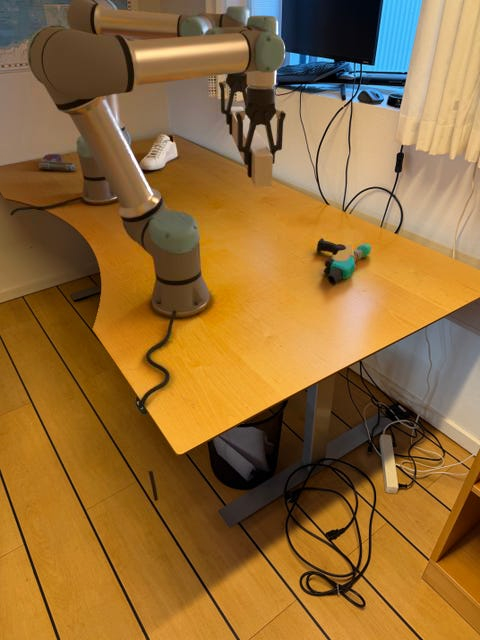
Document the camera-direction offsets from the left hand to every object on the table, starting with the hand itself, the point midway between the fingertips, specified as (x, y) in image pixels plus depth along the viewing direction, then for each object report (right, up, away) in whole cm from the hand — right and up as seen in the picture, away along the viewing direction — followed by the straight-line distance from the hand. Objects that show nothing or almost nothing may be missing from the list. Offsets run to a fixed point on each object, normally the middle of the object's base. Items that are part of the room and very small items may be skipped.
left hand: (238, 133), depth 173 cm
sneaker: (-37, +3, +45) cm, 58 cm away
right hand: (+6, -26, -37) cm, 46 cm away
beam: (+3, -14, -18) cm, 23 cm away
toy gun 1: (-81, +2, +43) cm, 92 cm away
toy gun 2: (+29, -52, -33) cm, 68 cm away
